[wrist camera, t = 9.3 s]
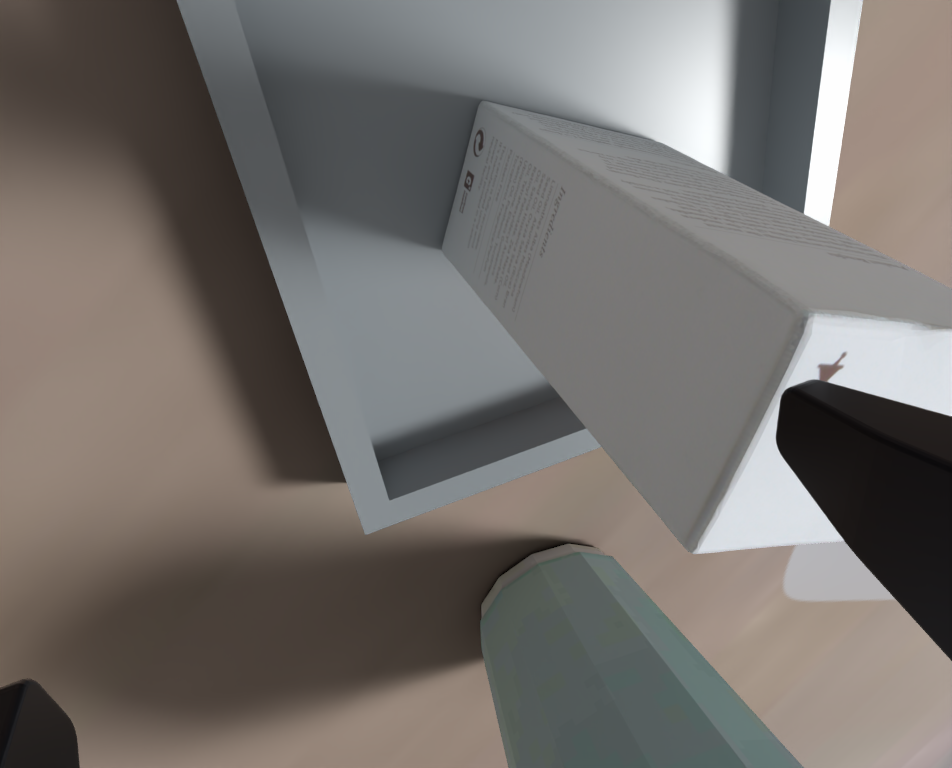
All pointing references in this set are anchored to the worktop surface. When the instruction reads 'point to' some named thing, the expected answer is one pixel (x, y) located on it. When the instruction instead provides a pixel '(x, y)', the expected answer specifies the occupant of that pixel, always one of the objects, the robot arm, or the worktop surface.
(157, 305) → the worktop surface
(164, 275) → the worktop surface
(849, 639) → the worktop surface
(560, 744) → the disposable coffee cup
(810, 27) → the tray
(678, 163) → the skincare box
